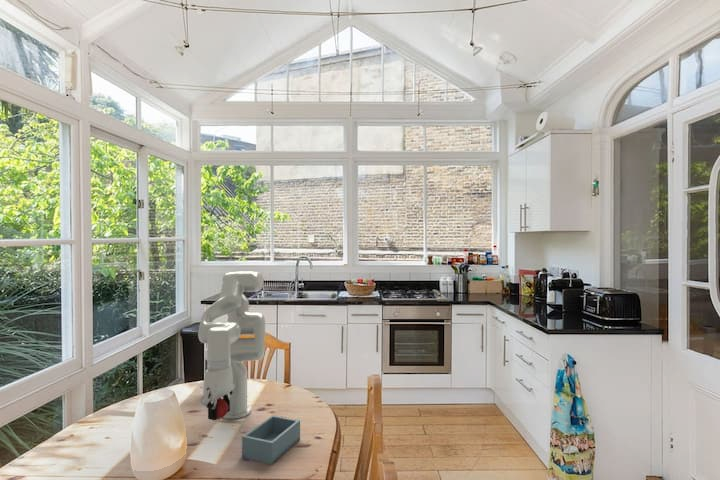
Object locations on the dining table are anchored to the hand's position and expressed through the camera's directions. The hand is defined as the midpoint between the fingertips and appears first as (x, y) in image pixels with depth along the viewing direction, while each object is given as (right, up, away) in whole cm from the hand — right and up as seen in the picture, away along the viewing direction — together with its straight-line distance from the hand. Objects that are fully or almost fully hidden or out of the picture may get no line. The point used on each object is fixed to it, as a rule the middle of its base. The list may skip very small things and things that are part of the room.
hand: (219, 414), depth 137 cm
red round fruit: (0, -2, 0) cm, 2 cm away
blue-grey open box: (+18, -13, +3) cm, 22 cm away
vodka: (-22, -14, +54) cm, 59 cm away
